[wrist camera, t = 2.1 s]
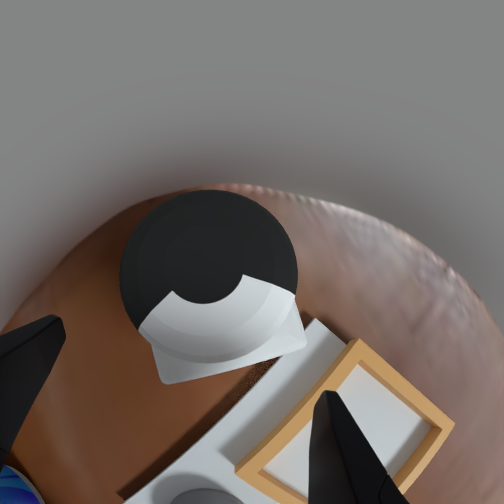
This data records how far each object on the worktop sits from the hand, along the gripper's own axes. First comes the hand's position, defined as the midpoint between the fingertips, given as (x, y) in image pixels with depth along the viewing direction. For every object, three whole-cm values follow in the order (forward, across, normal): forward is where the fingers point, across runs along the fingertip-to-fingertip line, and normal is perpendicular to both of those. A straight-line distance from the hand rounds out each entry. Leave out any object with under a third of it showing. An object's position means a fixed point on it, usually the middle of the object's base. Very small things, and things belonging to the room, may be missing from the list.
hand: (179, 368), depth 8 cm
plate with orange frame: (+2, -8, +14) cm, 16 cm away
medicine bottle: (+10, 0, +6) cm, 12 cm away
